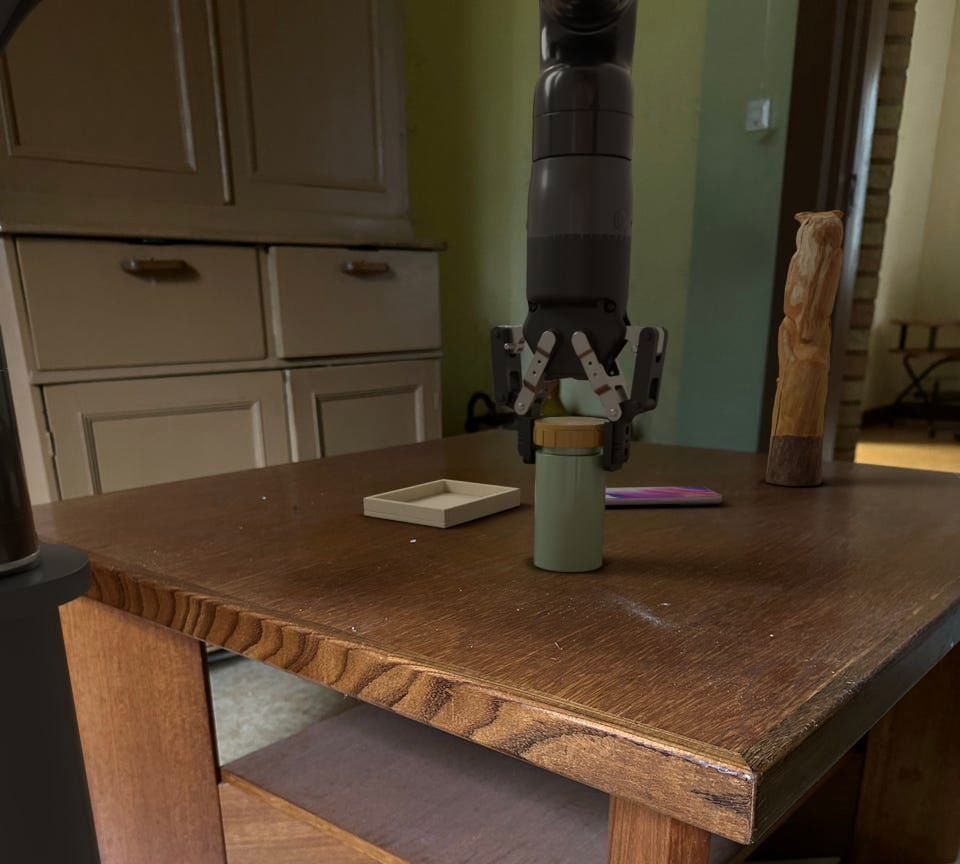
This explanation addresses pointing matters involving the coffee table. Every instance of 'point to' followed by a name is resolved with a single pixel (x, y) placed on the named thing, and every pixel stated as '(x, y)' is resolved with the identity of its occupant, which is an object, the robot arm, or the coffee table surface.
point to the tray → (442, 502)
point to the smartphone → (661, 496)
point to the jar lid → (569, 432)
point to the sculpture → (805, 351)
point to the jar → (569, 509)
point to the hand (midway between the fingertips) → (571, 465)
